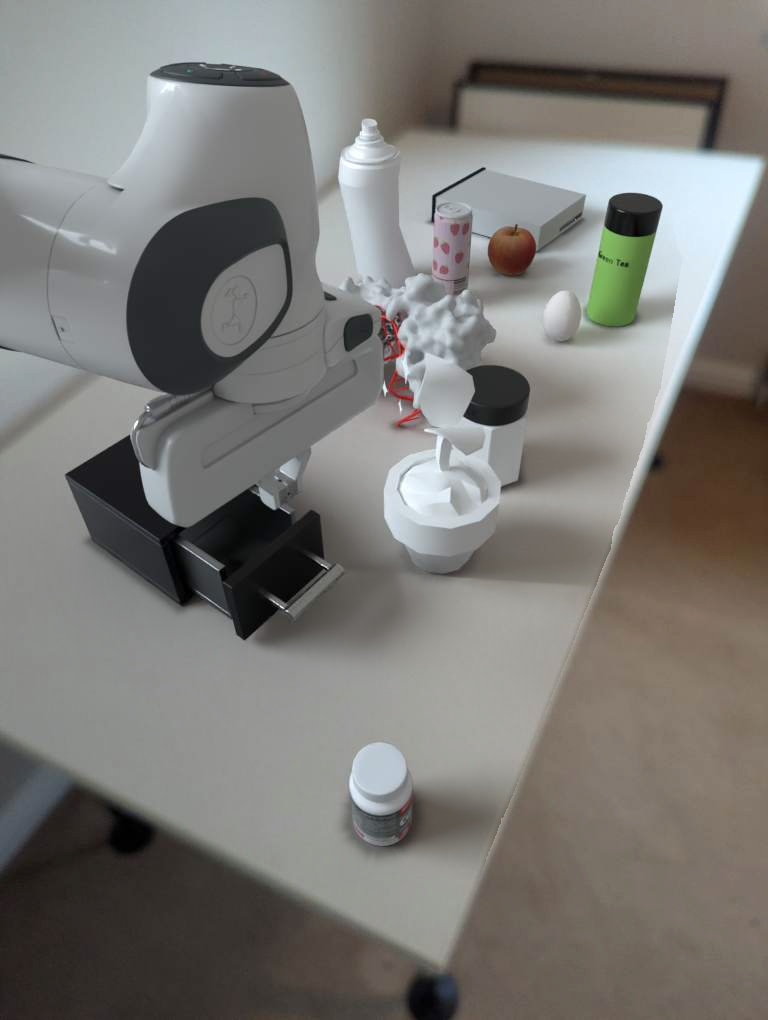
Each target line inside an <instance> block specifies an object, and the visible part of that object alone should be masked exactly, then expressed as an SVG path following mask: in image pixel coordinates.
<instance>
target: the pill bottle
mask: <svg viewBox="0 0 768 1020" xmlns="http://www.w3.org/2000/svg"><path fill="white" fill-rule="evenodd" d="M348 782H349V783H348V784H349V785H348V786H349V789H348V790H349V797H350V806H351V808H350V809H351V816H352V817H351V818H352V824H353V828H354V830H355V831H356V833H357V834H358V836H359V837H360V838H361V839H362V840H364V841H365V842H367V843H369V844H371V845H374V846H380V847H387V846H391V845H395V844H396V843H398V842H400V841H401V840H402V839H403V838H404V837H405V836H406V834H407V833H408V831H409V830H410V827H411V824H412V821H413V820H412V819H413V797H414V796H413V791H414V784H413V776H412V773H411V770H410V769H409V767H408V762H407V759H406V756H405V755H404V754H403V753H402V751H401V750H400V749H399V748H398V747H396V746H394V745H393V744H390V743H387V742H373V743H370V744H368V745H365V746H364V747H362V748H361V749H360V750H359V751H358V752H357V753H356V755H355V757H354V758H353V761H352V769H351V773H350V776H349V780H348Z"/></svg>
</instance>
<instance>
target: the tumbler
mask: <svg viewBox="0 0 768 1020" xmlns="http://www.w3.org/2000/svg"><path fill="white" fill-rule="evenodd" d="M663 207H664V205H663V202H662V201H661V200H660V199H658V198H657V197H655V196H653V195H649V194H646V193H640V192H622V193H617V194H615V195H612V196H611V197H610V198H609V199H608V202H607V207H606V213H605V217H604V221H603V227H602V233H601V237H600V243H599V247H598V252H597V257H596V261H595V262H596V263H595V267H594V272H593V278H592V282H591V287H590V291H589V298H588V301H587V306H586V316H587V317H588V319H590V320H591V321H593V322H594V323H596V324H598V325H602V326H604V327H605V326H606V327H613V328H614V327H616V328H617V327H624V326H627V325H629V324H631V323H632V322H633V321H634V320H635V318H636V314H637V310H638V307H639V302H640V298H641V295H642V290H643V287H644V282H645V278H646V274H647V270H648V267H649V263H650V260H651V254H652V250H653V247H654V244H655V240H656V235H657V231H658V227H659V223H660V220H661V217H662V212H663Z"/></svg>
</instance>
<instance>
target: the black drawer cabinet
mask: <svg viewBox="0 0 768 1020" xmlns="http://www.w3.org/2000/svg"><path fill="white" fill-rule="evenodd" d="M64 477H65V480H66V482H67V483H68V486H69V489H70V491H71V494H72V496H73V498H74V501H75V503H76V505H77V508H78V510H79V512H80V514H81V515H80V516H82V517H81V518H82V520H83V522H84V524H85V526H86V529H87V531H88V534H89V536H90V539H91V542H94V544H96V545H97V546H99V547H100V548H102V550H104V551H105V552H107V553H108V554H110V555H111V556H112V557H114V558H115V559H116V560H118V561H119V562H120V563H122V564H123V565H125V566H126V567H127V568H129V569H130V570H131V571H133V572H134V573H135V574H136V575H138V576H139V577H141V578H142V579H143V580H144V581H146V582H147V583H149V584H150V585H152V586H153V587H154V588H156V589H157V590H158V591H160V592H161V593H162V594H164V595H165V596H166V597H168V598H169V599H170V600H172V601H173V602H174V603H176V604H177V605H179V606H180V607H183V606H184V605H185V604H186V603H188V602H189V601H190V600H191V599H192V598H194V597H195V596H197V595H196V594H195V593H193V592H192V591H191V590H189V589H188V588H186V587H185V586H184V585H183V584H182V581H181V578H180V575H179V572H178V569H177V565H176V562H175V559H174V556H173V553H172V550H171V547H170V544H169V541H170V540H171V539H172V538H174V537H175V536H176V535H178V534H179V533H180V532H182V531H183V530H185V529H186V527H181V526H178V525H175V524H173V523H171V522H169V521H167V520H166V519H165V518H163V517H162V516H161V515H159V514H158V513H157V512H156V511H155V510H154V509H153V508H152V507H151V506H150V505H149V503H148V501H147V499H146V496H145V492H144V488H143V483H142V478H141V472H140V464H139V460H138V459H137V456H136V454H135V451H134V448H133V444H132V441H131V437H130V434H128V435H126V436H125V437H123V438H121V439H120V440H118V441H117V442H115V443H113V444H112V445H110V446H109V447H107V448H105V449H104V450H102V451H100V452H98V453H97V454H96V455H94V456H92V457H90V458H89V459H87V460H86V461H84V462H82V463H80V464H79V465H77V466H76V467H74V468H73V469H70V471H68V472H66V473H65V474H64ZM254 486H256V487H258V486H257V485H256V484H254ZM258 488H259V487H258Z"/></svg>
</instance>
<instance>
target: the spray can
mask: <svg viewBox="0 0 768 1020" xmlns="http://www.w3.org/2000/svg"><path fill="white" fill-rule="evenodd" d="M354 141H355V142H353V143H352V144H351V145H348V146H346V147H344V148H343V149H342V150H341V151H340V158H339V164H338V174H337V178H338V179H337V180H338V183H339V189H340V192H341V196H342V201H343V206H344V210H345V214H346V220H347V224H348V228H349V234H350V239H351V245H352V249H353V255H354V260H355V265H356V266H355V267H356V270H357V273H358V277H359V278H360V281H361V282H362V281H363V278H364V277H365V276H370V277H371V278H372V279H373V281H374V282H377V281H378V280H380V279H385V280H386V281H387V282H388V283H389V284H390V286H391V287H393V288H396V289H400V288H401V287H403V286H406V285H405V280H406V278H408V277H413V276H417V274H416V270H415V267H414V264H413V261H412V258H411V256H410V252H409V250H408V246H407V244H406V241H405V238H404V235H403V232H402V230H401V226H400V182H399V181H400V171H401V170H400V169H401V164H402V157H401V155H400V154H401V151H400V149H398V148H397V147H396V146H394V145H391V144H388V143H387V141H385V137H384V136H383V135H382V134H381V132H380V130H379V129H378V122H377V121H376V120H375V119H373V118H363V119H362V120H361V130H360V131H359V135H357V136H356V137H355V140H354Z"/></svg>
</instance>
